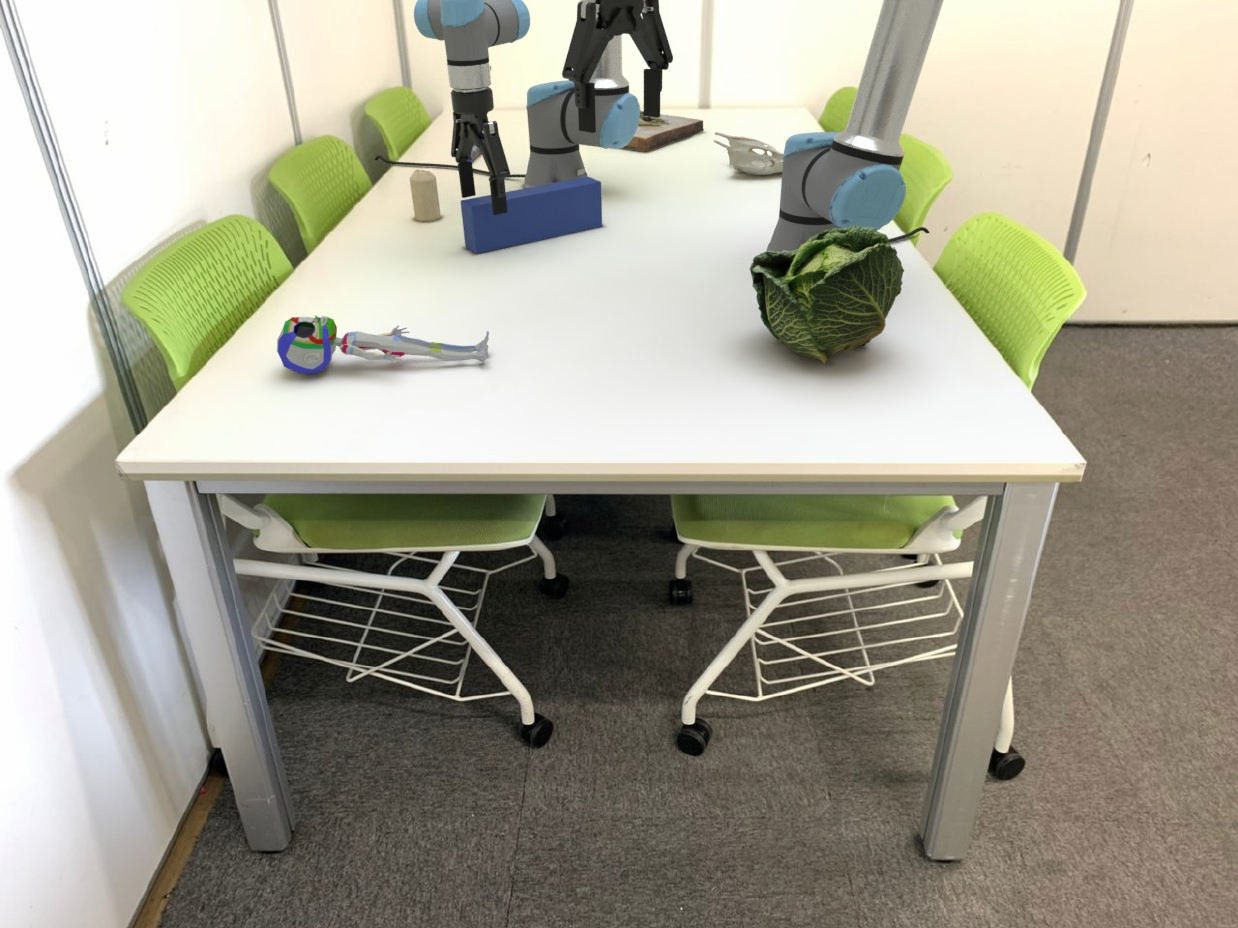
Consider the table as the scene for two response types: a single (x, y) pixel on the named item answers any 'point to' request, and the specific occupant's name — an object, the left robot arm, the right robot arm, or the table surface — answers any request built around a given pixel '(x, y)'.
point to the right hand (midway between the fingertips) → (620, 124)
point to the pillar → (474, 152)
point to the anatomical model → (752, 156)
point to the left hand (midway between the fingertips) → (484, 204)
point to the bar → (532, 214)
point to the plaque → (662, 131)
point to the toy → (358, 345)
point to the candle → (425, 195)
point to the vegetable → (828, 290)
